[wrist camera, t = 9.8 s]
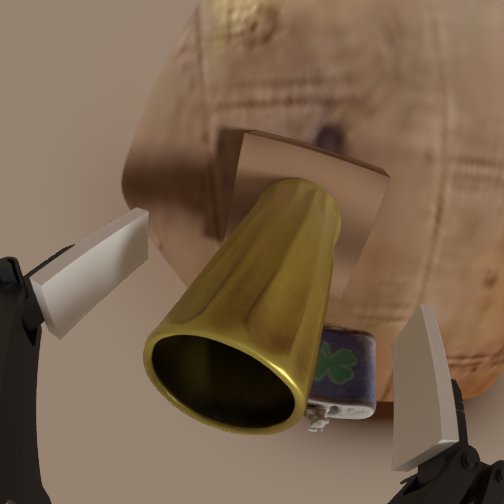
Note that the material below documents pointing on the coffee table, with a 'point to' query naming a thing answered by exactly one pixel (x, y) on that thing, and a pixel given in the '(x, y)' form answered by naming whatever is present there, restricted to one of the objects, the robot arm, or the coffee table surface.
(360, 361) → the flask
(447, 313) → the coffee table surface
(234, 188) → the plinth
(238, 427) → the vase
